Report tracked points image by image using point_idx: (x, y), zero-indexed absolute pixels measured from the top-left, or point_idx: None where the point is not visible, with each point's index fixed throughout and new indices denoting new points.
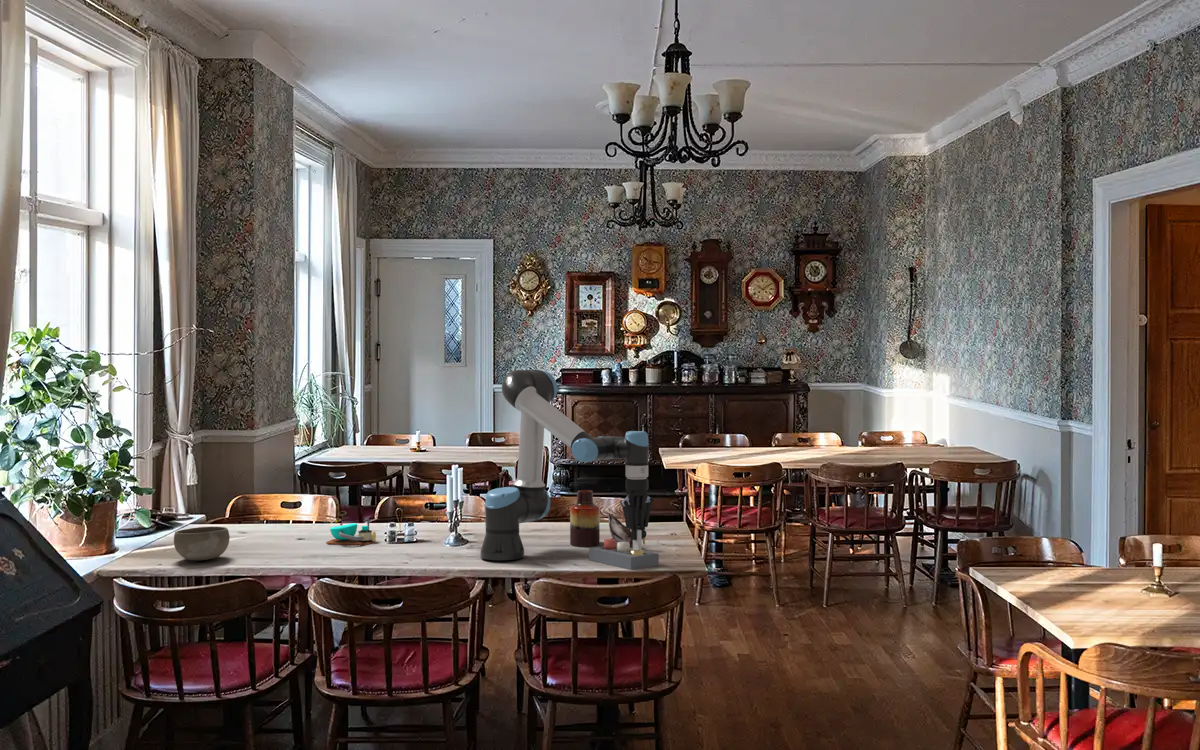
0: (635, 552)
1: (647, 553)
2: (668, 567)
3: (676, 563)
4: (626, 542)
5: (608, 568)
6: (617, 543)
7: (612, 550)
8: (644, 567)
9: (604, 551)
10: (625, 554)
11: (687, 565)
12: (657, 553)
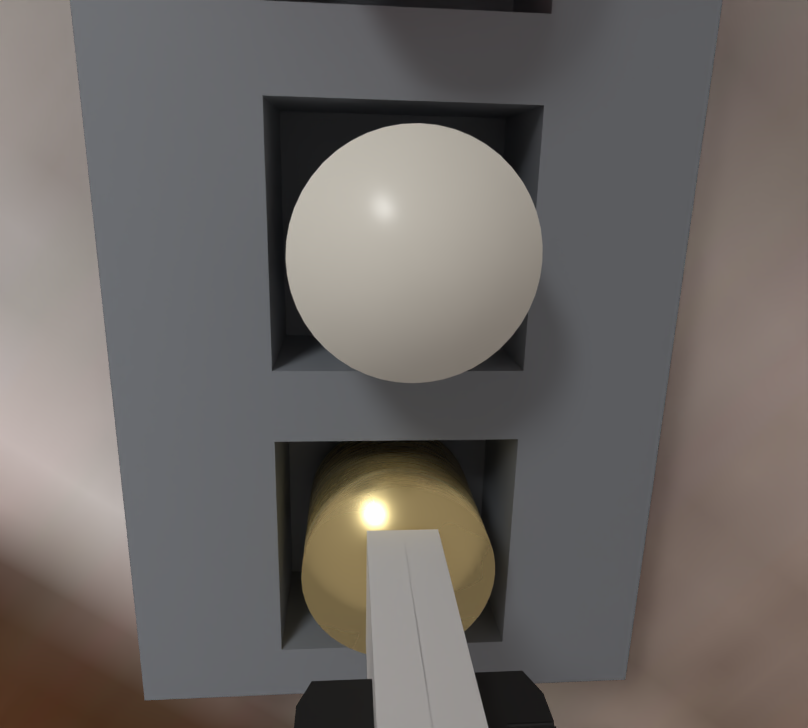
0: (323, 615)
1: (516, 611)
2: (572, 697)
3: (786, 598)
4: (490, 270)
5: (10, 394)
6: (294, 212)
7: (276, 91)
8: None
9: (93, 74)
10: (221, 503)
11: (771, 718)
12: (609, 677)
